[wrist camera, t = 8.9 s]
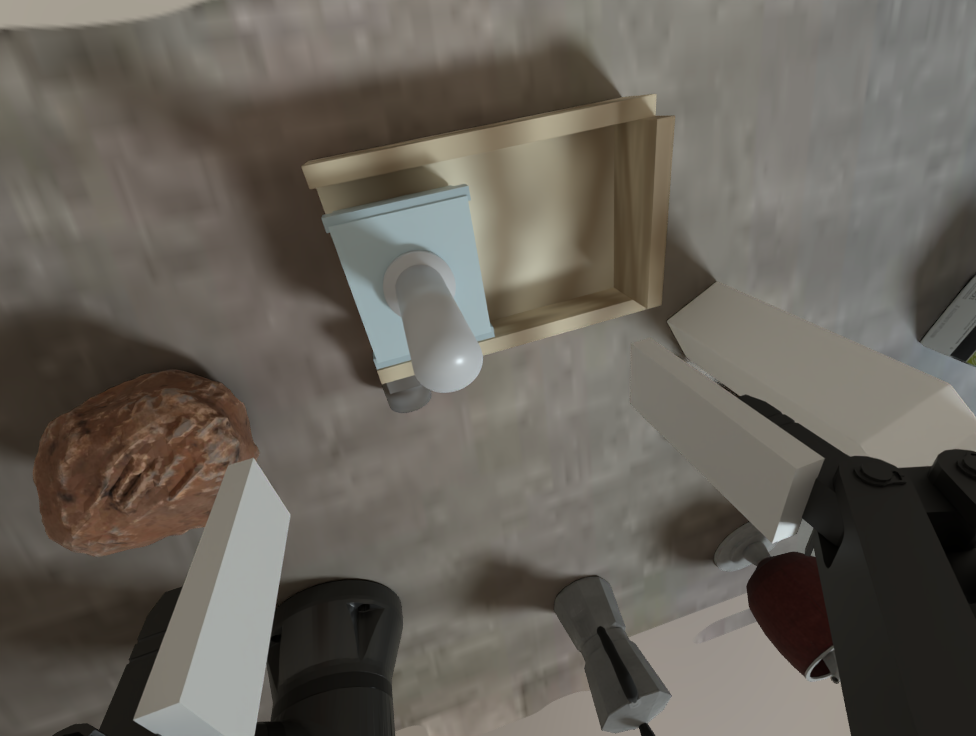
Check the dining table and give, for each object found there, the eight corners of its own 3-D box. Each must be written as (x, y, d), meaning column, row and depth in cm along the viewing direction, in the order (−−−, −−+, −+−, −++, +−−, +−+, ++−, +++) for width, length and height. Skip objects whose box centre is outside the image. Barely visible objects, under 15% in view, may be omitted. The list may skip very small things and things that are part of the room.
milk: (665, 320, 41) (917, 483, 22) (717, 279, 40) (1024, 413, 21) (686, 358, 44) (921, 528, 25) (734, 321, 43) (1014, 469, 25)
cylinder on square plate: (374, 338, 32) (385, 474, 20) (326, 203, 27) (300, 275, 14) (477, 310, 33) (550, 423, 21) (452, 176, 28) (529, 219, 15)
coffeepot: (614, 602, 66) (689, 741, 51) (561, 627, 66) (621, 776, 51) (600, 550, 58) (686, 700, 43) (539, 579, 57) (604, 740, 42)
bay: (388, 393, 36) (393, 436, 31) (303, 161, 26) (290, 171, 21) (619, 326, 39) (657, 356, 34) (622, 97, 29) (676, 91, 24)
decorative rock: (153, 497, 35) (90, 612, 27) (33, 400, 29) (-97, 511, 21) (298, 434, 36) (280, 527, 28) (211, 327, 30) (154, 405, 21)
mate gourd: (799, 518, 69) (940, 644, 52) (744, 573, 74) (857, 704, 57) (742, 507, 62) (883, 647, 46) (687, 568, 67) (796, 715, 50)
